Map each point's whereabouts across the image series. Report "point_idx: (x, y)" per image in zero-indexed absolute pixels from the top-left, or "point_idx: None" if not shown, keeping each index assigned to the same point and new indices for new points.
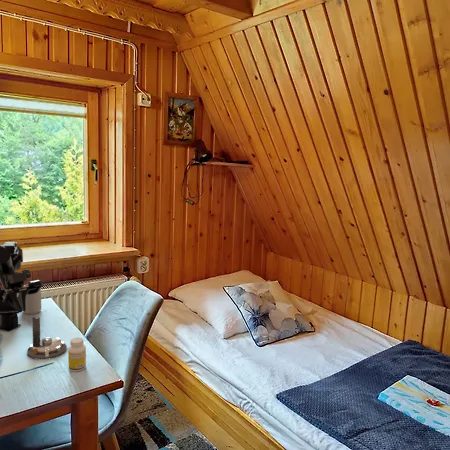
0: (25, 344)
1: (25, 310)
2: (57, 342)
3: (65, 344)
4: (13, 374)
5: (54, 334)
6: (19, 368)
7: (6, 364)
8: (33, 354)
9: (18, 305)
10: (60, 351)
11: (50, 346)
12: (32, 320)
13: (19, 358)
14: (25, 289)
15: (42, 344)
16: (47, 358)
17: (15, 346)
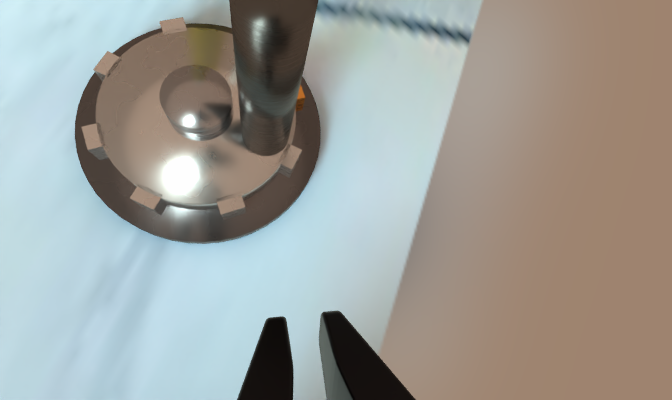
0: (263, 308)
1: (268, 320)
2: (136, 82)
3: (82, 98)
4: (437, 29)
5: (8, 348)
6: (400, 57)
7: (434, 134)
8: (302, 112)
9: (392, 389)
10: None
11: (206, 63)
12: (314, 14)
13: (364, 150)
14: None
15: (233, 113)
16: None
17: None
